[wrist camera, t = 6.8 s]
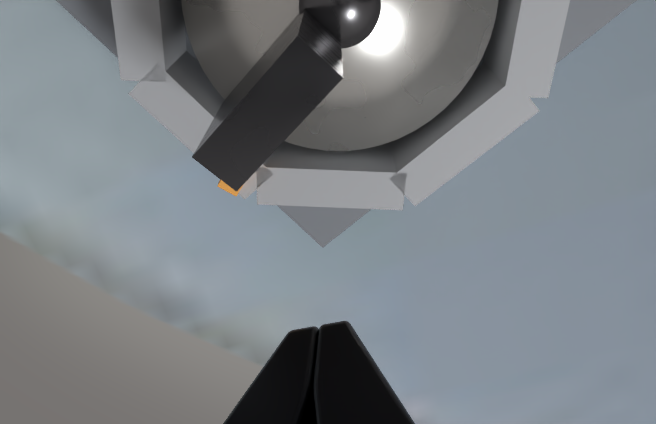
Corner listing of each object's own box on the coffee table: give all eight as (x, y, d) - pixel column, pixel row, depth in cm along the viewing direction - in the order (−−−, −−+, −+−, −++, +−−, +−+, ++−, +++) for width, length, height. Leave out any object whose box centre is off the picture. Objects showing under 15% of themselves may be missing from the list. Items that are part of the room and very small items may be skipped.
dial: (344, 175, 19) (349, 279, 14) (140, 1, 16) (49, 46, 11) (540, -17, 16) (642, 20, 11) (330, -261, 14) (329, -367, 8)
